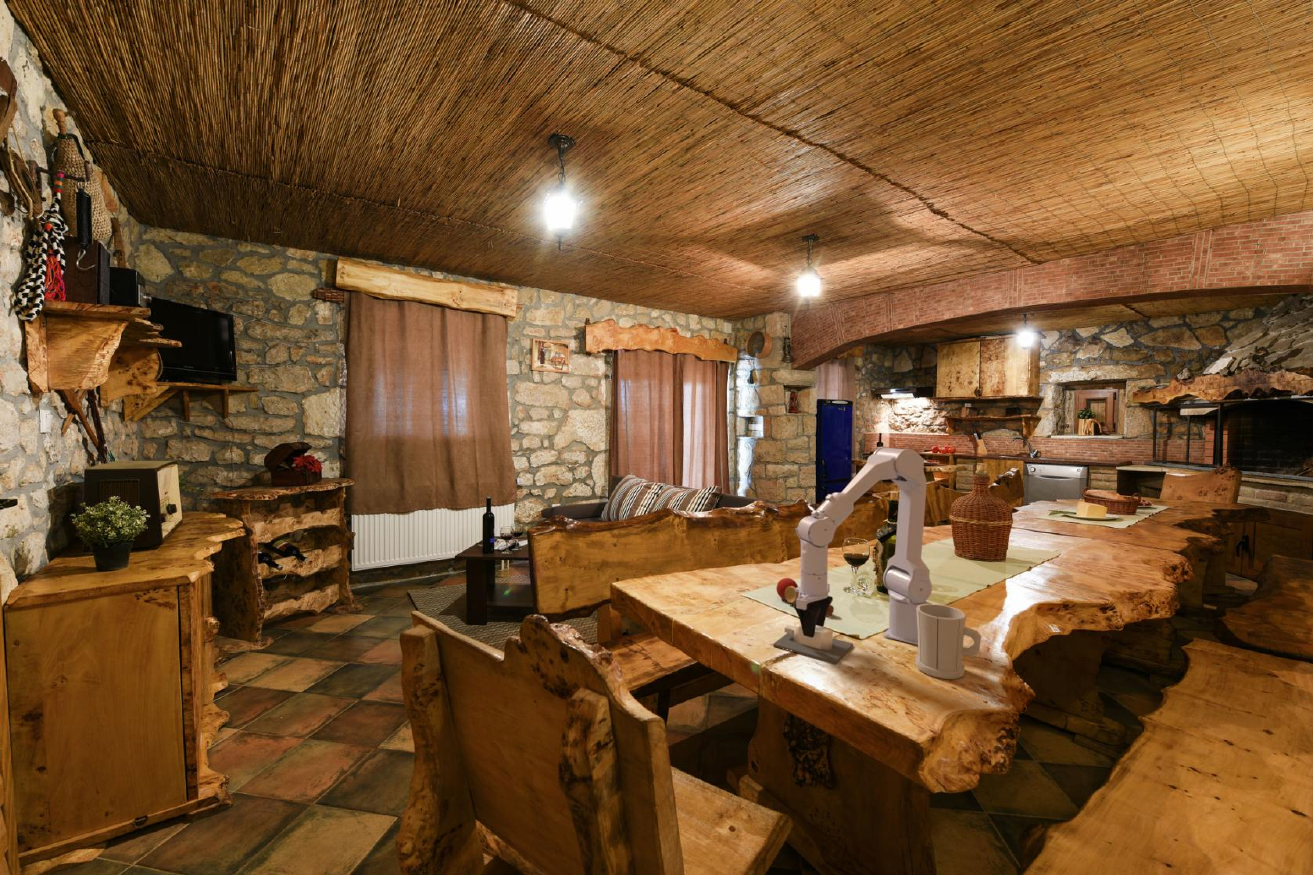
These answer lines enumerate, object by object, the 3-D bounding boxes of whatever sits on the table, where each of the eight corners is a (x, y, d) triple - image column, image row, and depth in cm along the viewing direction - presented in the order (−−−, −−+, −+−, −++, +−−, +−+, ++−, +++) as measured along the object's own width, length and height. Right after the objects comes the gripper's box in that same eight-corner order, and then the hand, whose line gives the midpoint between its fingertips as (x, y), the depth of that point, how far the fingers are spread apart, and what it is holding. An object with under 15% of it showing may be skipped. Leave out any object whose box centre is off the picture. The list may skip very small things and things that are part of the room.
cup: (955, 659, 112) (956, 602, 112) (983, 680, 103) (985, 619, 103) (906, 659, 112) (907, 603, 111) (930, 681, 103) (931, 620, 102)
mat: (853, 646, 119) (853, 643, 119) (835, 664, 110) (836, 661, 110) (793, 630, 127) (793, 628, 127) (773, 646, 118) (773, 643, 118)
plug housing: (834, 645, 117) (835, 629, 117) (828, 651, 115) (829, 634, 114) (789, 633, 124) (789, 618, 124) (782, 638, 121) (782, 623, 121)
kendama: (840, 617, 139) (790, 589, 154) (841, 595, 138) (789, 569, 153) (820, 628, 136) (770, 598, 151) (820, 606, 134) (769, 578, 149)
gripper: (809, 561, 126) (808, 618, 127) (783, 575, 115) (782, 638, 115) (838, 566, 122) (838, 625, 122) (815, 582, 110) (814, 646, 111)
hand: (813, 632), depth 118 cm, fingers open, 5 cm apart
